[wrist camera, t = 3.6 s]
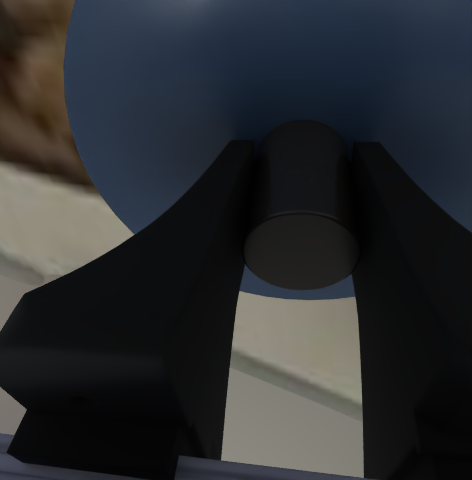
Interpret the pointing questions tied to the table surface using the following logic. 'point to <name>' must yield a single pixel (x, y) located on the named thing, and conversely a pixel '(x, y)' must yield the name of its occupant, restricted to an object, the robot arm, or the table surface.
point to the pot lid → (273, 115)
